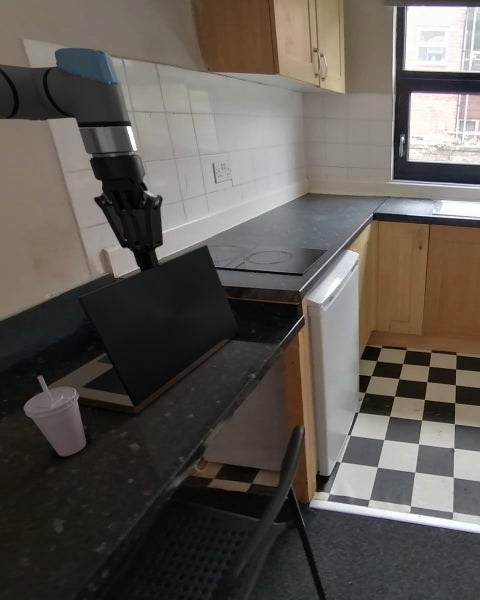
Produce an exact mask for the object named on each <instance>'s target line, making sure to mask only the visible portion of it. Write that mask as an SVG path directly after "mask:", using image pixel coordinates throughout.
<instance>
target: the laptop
mask: <svg viewBox="0 0 480 600" xmlns="http://www.w3.org/2000/svg"><path fill="white" fill-rule="evenodd" d="M236 336H237V329H236V330H235V331H234V332H233V333H231V334H230V335H229V336H227V337H226V338H225V339H224V340H222V341H221V342H220V343H218V344H217V345H216V346H214V347H213V348H212V349H211V350H209V351H208V352H207V353H205V354H204V355H203V356H202V357H200V358H199V359H198V360H196V361H195V362H194V363H192V364H191V365H190V366H189V367H187V368H186V369H185V370H183V371H182V372H181V373H180V374H178V375H177V376H176V377H174V378H173V379H172V380H170V381H169V382H168V383H167V384H165V385H164V386H163V387H161V388H160V389H159V390H158V391H156V392H155V393H154V394H152V395H151V396H150V397H148V398H147V399H146V400H145V401H143V402H142V403H141V404H139V405H138V406H133V404H132V402H131V400H130V398H129V396H128V394H127V392H126V390H125V389H124V387H123V385H122V383H121V381H120V379H119V377H118V375H117V373H116V371H115V370H114V368H113V366H112V364H111V362H110V360H109V358H108V356H107V354H106V352H104V353H103V354H101V355H99V356H98V357H96V358H94V359H93V360H90V361H89V362H87V363H85V364H84V365H82V366H80V367H78V368H77V369H75V370H73V371H71V372H70V373H68V374H66V375H65V376H63V377H61V378H60V379H58V380H56V381H54V382H53V383H51V384H49V385H48V386H47V388H48V390H50V389H54V388H58V387H72V388H74V389H76V391H77V393H78V395H79V396H78V399H77V402H78V405H85V406H88V407H89V406H90V407H95V408H100V409H106V410H110V411H112V410H113V411H116V412H121V413H127V414H132V415H137V414H139V413H140V412H141V411H143V409H145V408H146V407H147V406H148V405H150V404H151V403H153V402H154V401H155V400H156V399H157V398H159V397H160V396H161V395H163V394H164V393H165V392H166V391H167V390H169V389H171V387H173V386H174V385H175V384H176V383H178V382H179V381H181V379H183V378H184V377H185V376H187V375H188V374H189V373H190V372H192V371H193V370H194V369H196V368H197V367H198V366H199V365H200V364H201V363H203V362H204V361H206V360H207V359H208V358H209V357H210V356H212V355H213V354H214V353H216V352H217V351H218V350H219V349H221V348H222V347H224V346H225V344H227V343H228V342H229V341H231V340H232V339H233V338H234V337H236ZM41 389H42V388H41ZM41 391H42V392H44V391H43V389H42V390H41Z"/></svg>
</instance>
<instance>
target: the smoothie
mask: <svg viewBox="0 0 480 600" xmlns="http://www.w3.org/2000/svg"><path fill="white" fill-rule="evenodd" d="M36 378H37V380H38V382H39V384H40V386H41V389H43V390H42V391H41V392H40V393H38V394H36V395H34V396H33V397H31V398H30V399H29V400H27V401H26V403H25V404H24V406H23V411H24V414H25V416H26V417H28V418H31V419H32V421H33V422H34V424H35V425H36V426H37V427H38V429H39V431H40V432H41V433H42V434H43V436H44V438H45V439H46V440H47V441H48V442H49V444H50V445H51V446H52V448H53V449H54V451H55V452H56V453H57V455H58V456H60V457H68V456H72V455H75V454H77V453H78V452H80V451H81V450H83V449H84V448H85V447H86V445H87V439H86V434H85V429H84V424H83V421H82V416H81V411H80V406H79V403H78V402H77V399H78V396H79V395H78V393H77V391H76V389H74V388H72V387H58V388H54V389H50V390H48V388H47V384H46V381H45V379H44V377H43V375H38V376H37V377H36ZM43 391H44V392H43Z"/></svg>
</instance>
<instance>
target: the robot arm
mask: <svg viewBox="0 0 480 600" xmlns="http://www.w3.org/2000/svg"><path fill="white" fill-rule="evenodd" d="M54 57H55V65H56V66H50V67H49V66H47V67H44V66H43V67H27V66H18V65H11V64H1V63H0V120H25V121H27V120H28V121H41V122H42V121H48V120H60V119H61V120H62V119H75V121H76V124H77V127H78V131H79V133H80V136H81V140H82V143H83V147H84V150H85V153H86V154H87V155H91V157H90V159H89V160H88V161H89V164H90V167H91V170H92V173H93V175H94V178H95V180H97V181H100V182H101V191H102V193H101V194H100V195H97V196H94V197H93V201H94V203H95V205H97V206H98V207H99V209H100V210H101V211H102V213H103V215H104V217H105V219H106V221H107V223H108V224H109V226H110V228H111V230H112V232H113V234H114V236H115V237H116V240H117V242H118V243H119V245H120V246H121V248H122V249H129V251H130V252H131V253H132V254H133V258H134V260H135V263H136V266H137V267H138V268H139V270H140V272H141V271H144V270H146V269H148V268H154V267H157V266H159V264H160V263H159V258H158V255H157V253H156V249H157V248H160V247H162V246H164V237H163V224H162V222H163V221H162V210H161V209H162V205H163V199H164V198H163V196H162V195H161V194H157V195H155V194H153V193H152V192H151V191H149V187H148V186H147V184H146V182H145V180H144V177H145V176H146V171H145V167H144V163H143V159H142V156H140V155H139V154H137V153H136V152H138V151H139V147H138V142H137V140H136V139H137V138H136V136H135V132H134V129H133V125H132V122H131V119H130V116H129V111H128V108H127V104H126V100H125V99H126V98H125V96H124V91H123V87H122V81H121V79H120V78H119V75H118V72H117V69H116V66H115V63H114V59H112V56H111V55H110V54H109V53H107V52H105V51H103V50H99V49H94V48H88V47H87V48H85V47H62V48H59V49H56V50H55V51H54Z"/></svg>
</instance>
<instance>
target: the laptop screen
mask: <svg viewBox="0 0 480 600" xmlns="http://www.w3.org/2000/svg"><path fill="white" fill-rule="evenodd" d="M76 299H77V301H78V304H79V305H80V307H81V309H82V311H83V312H84V314H85V316H86V318H87V320H88V322H89V324H90V326H91V327H92V329H93V331H94V333H95V335H96V337H97V339H98V341H99V343H100V345H101V347H102V349H103V351H104V353H106V354H107V356H108V358H109V360H110V362H111V364H112V366H113V368H114V370H115V371H116V373H117V375H118V377H119V379H120V381H121V383H122V385H123V387H124V389H125V390H126V392H127V394H128V396H129V398H130V400H131V402H132V404H133V406H138V405H139V404H141V403H142V402H143V401H145V400H146V399H147V398H148V397H150V396H151V395H152V394H154V393H155V392H156V391H158V390H159V389H160V388H161V387H163V386H164V385H165V384H167V383H168V382H169V381H170V380H172V379H173V378H174V377H176V376H177V375H178V374H180V373H181V372H182V371H183V370H185V369H186V368H187V367H189V366H190V365H191V364H192V363H194V362H195V361H196V360H198V359H199V358H200V357H202V356H203V355H204V354H205V353H207V352H208V351H209V350H211V349H212V348H213V347H214V346H216V345H217V344H218V343H220V342H221V341H222V340H224V339H225V338H226V337H227V336H229V335H230V334H231V333H233V332H234V331H235V330H236V331H237V330H238V329H239V326H238V324H237V320H236V318H235V315H234V313H233V310H232V307H231V306H230V301H229V300H228V296H227V295H226V292H225V289H224V286H223V284H222V281H221V279H220V275H219V273H218V271H217V268H216V265H215V263H214V259H213V257H212V254H211V252H210V249H209V246H208V245H207V244H205V245H204V244H203V245H202V246H199V247H197V248H194V249H192V250H189V251H186V252H185V253H182V254H180V255H177V256H176V257H172V258H170V259H168V260H165V261H163V262H160V263H159V266H157V267H154V268H148V269H146V270H144V271H141V270H140V271H139V272H137V273H134V274H132V275H129V276H127V277H124V278H122V279H120V280H117V281H115V282H112V283H110V284H108V285H105V286H103V287H101V288H98V289H95V290H93V291H90V292H88V293H86V294H84V295H81V296H79V297H77V298H76Z"/></svg>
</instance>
